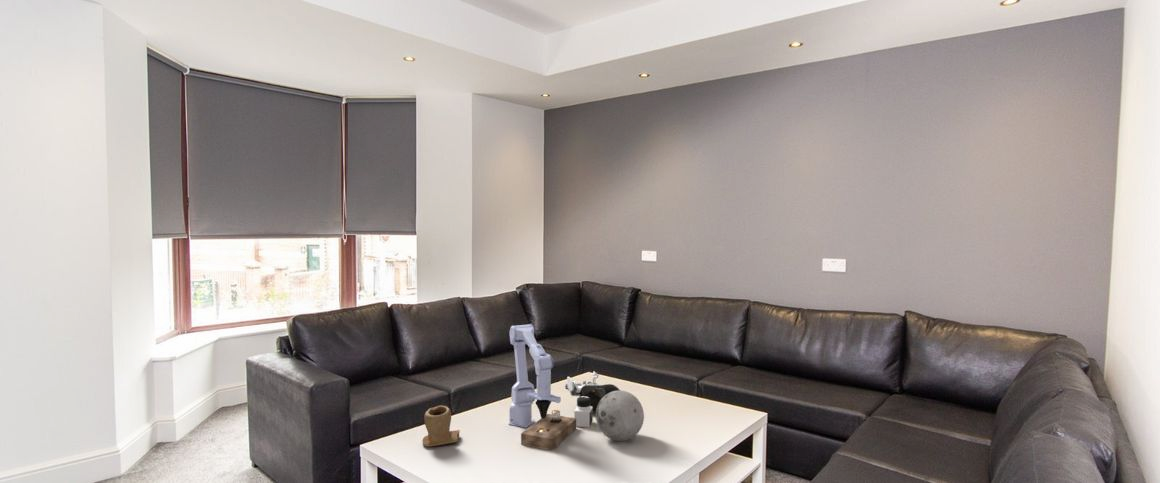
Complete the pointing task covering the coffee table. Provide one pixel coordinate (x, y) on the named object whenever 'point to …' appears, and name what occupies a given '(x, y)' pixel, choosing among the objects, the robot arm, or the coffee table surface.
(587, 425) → the medicine bottle
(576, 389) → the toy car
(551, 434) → the socket block
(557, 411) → the peg far
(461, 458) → the coffee table surface
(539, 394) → the robot arm
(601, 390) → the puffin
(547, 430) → the peg near
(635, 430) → the moon model
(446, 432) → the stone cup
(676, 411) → the coffee table surface
